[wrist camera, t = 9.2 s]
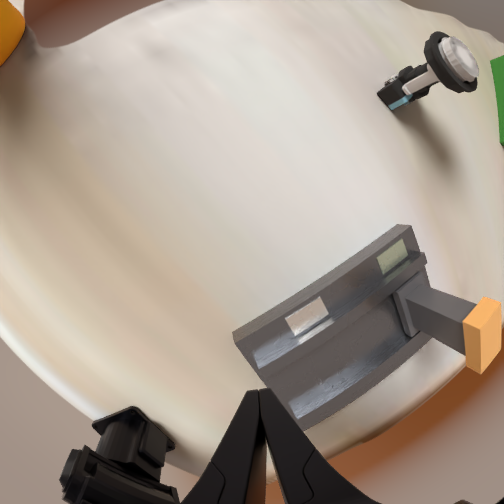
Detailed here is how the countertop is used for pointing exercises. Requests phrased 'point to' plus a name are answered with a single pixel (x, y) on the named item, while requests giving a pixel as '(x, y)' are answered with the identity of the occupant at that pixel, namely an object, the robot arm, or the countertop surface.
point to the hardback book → (499, 91)
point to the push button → (434, 72)
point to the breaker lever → (451, 320)
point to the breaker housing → (337, 331)
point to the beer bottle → (9, 29)
